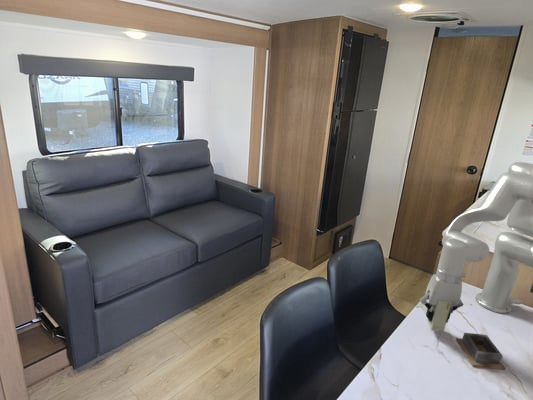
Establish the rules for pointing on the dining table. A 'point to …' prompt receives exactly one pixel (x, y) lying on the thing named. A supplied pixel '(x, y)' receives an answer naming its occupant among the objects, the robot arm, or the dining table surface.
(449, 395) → the dining table surface
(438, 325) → the skincare box
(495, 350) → the sleeve stand
